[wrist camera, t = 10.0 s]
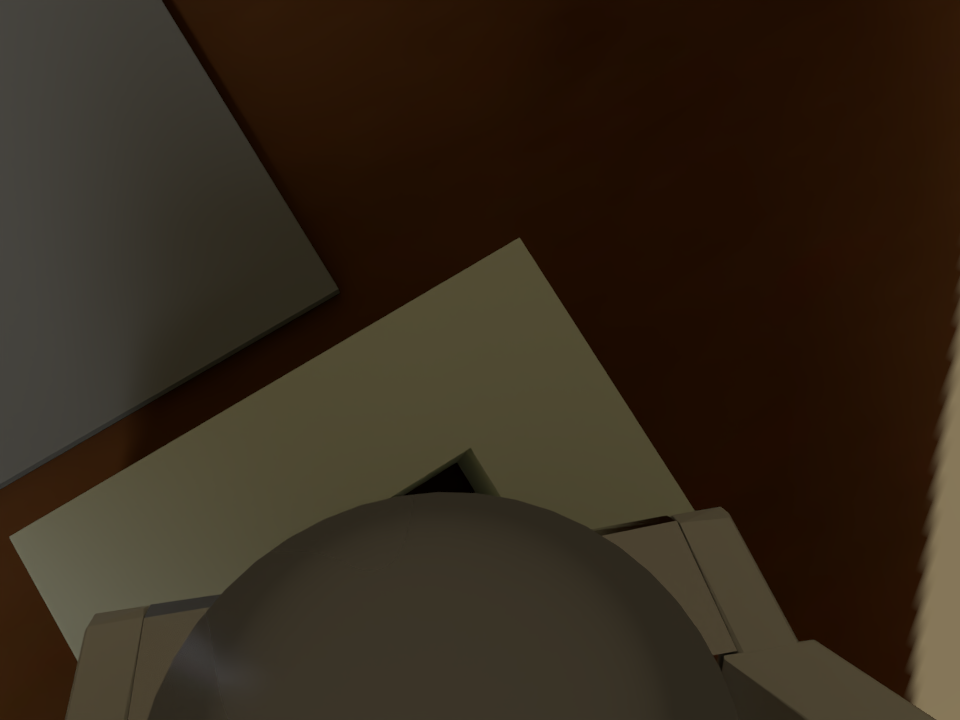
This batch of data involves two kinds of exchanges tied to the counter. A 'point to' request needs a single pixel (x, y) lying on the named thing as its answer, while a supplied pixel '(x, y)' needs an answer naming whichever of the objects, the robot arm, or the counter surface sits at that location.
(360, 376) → the hole block
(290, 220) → the mat
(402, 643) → the steel pin
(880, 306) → the counter surface
